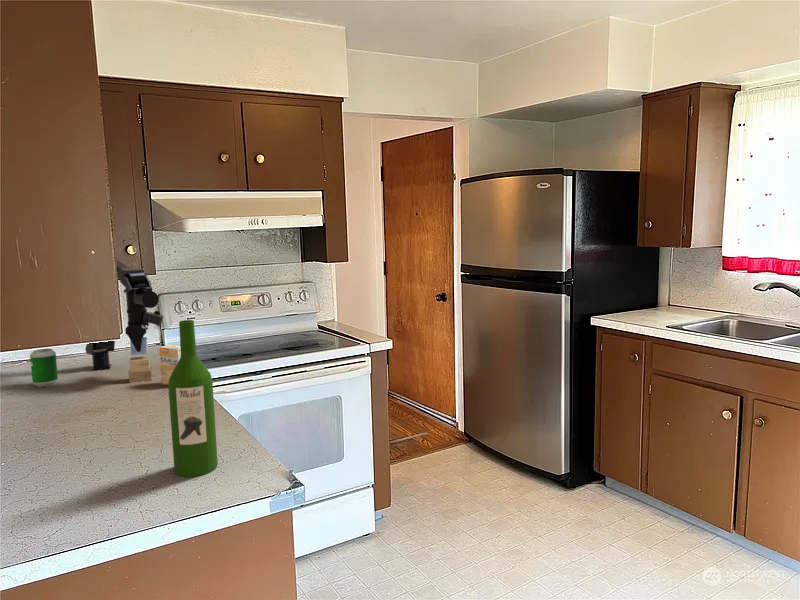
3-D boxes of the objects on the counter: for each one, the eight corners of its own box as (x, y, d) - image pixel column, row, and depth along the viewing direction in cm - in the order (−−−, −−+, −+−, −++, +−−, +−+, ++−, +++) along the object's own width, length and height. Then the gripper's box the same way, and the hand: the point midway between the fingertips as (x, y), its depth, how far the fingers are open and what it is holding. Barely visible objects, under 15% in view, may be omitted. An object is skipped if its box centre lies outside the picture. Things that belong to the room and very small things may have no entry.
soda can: (63, 381, 205) (60, 348, 204) (48, 387, 198) (45, 352, 196) (43, 381, 206) (40, 348, 204) (27, 387, 198) (24, 352, 197)
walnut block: (131, 379, 208) (130, 368, 207) (152, 377, 210) (152, 366, 209) (129, 384, 201) (128, 372, 201) (151, 381, 203) (150, 370, 203)
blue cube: (132, 352, 206) (131, 338, 205) (147, 351, 208) (146, 337, 207) (131, 355, 201) (130, 340, 201) (146, 353, 203) (145, 339, 202)
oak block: (131, 368, 207) (130, 357, 206) (150, 366, 209) (149, 355, 208) (130, 372, 201) (129, 360, 201) (149, 370, 203) (148, 359, 203)
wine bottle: (175, 480, 121) (164, 326, 117) (173, 464, 130) (163, 320, 126) (220, 472, 125) (210, 322, 121) (215, 457, 133) (206, 316, 129)
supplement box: (160, 385, 198) (158, 347, 196) (171, 381, 202) (168, 344, 201) (179, 387, 195) (177, 348, 193) (190, 383, 199) (187, 345, 198)
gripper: (159, 307, 196) (163, 353, 198) (162, 301, 214) (165, 343, 216) (123, 310, 193) (127, 356, 195) (128, 303, 210) (132, 346, 212)
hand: (139, 350), depth 204 cm, fingers closed on blue cube, 5 cm apart
